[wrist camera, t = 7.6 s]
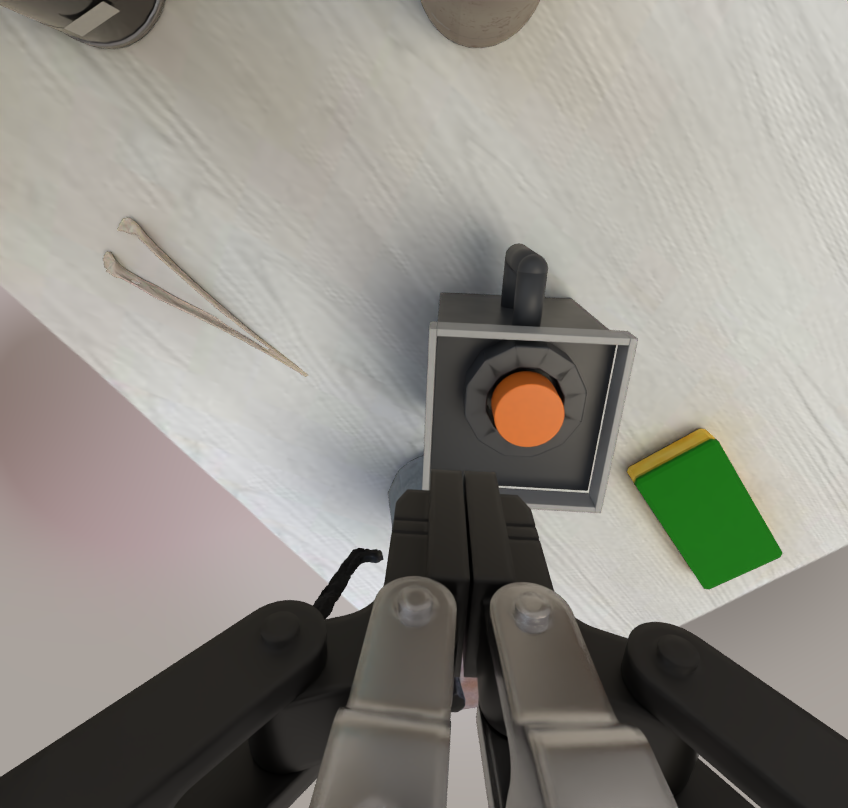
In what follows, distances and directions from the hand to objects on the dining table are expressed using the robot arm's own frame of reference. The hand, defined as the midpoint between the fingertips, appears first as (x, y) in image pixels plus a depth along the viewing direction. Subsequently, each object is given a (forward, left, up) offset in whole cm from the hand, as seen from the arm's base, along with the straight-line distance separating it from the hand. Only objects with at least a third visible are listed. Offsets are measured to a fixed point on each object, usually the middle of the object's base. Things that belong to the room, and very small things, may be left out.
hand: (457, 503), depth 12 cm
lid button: (+4, -4, -16) cm, 17 cm away
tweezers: (-18, -2, -29) cm, 34 cm away
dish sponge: (+23, -18, -28) cm, 41 cm away
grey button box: (+4, -5, -28) cm, 29 cm away
